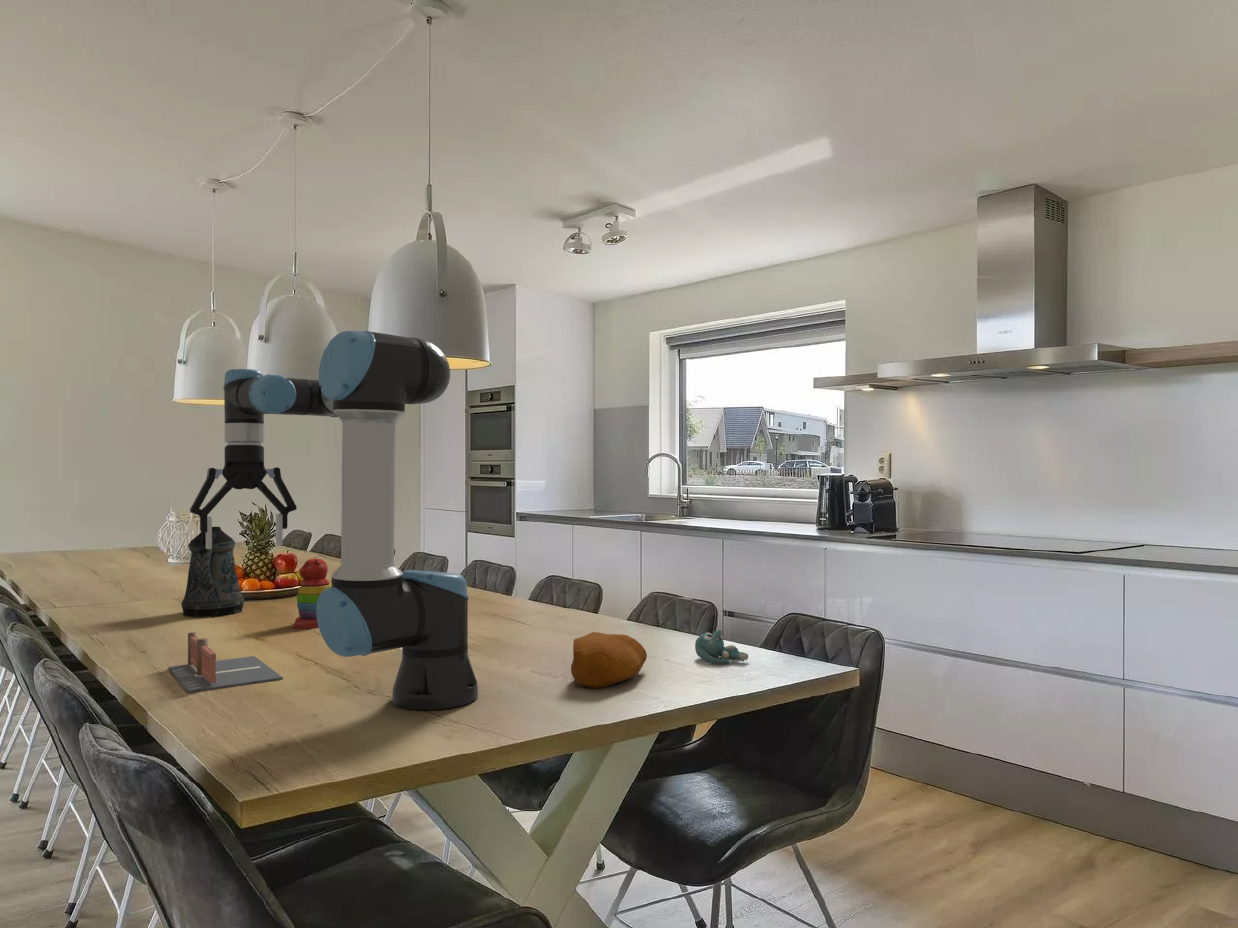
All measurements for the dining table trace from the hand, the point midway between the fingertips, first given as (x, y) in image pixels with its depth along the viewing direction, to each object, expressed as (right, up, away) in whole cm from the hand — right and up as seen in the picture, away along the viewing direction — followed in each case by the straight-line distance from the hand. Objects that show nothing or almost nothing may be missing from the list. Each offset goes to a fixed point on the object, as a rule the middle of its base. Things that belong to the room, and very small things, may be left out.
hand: (244, 546), depth 178 cm
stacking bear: (-4, -26, +52) cm, 58 cm away
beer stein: (-40, -26, +71) cm, 85 cm away
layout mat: (-3, -26, -3) cm, 26 cm away
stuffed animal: (+100, -26, +7) cm, 103 cm away
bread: (+76, -26, -9) cm, 81 cm away
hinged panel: (-3, -25, -10) cm, 27 cm away
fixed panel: (-10, -26, 0) cm, 28 cm away
